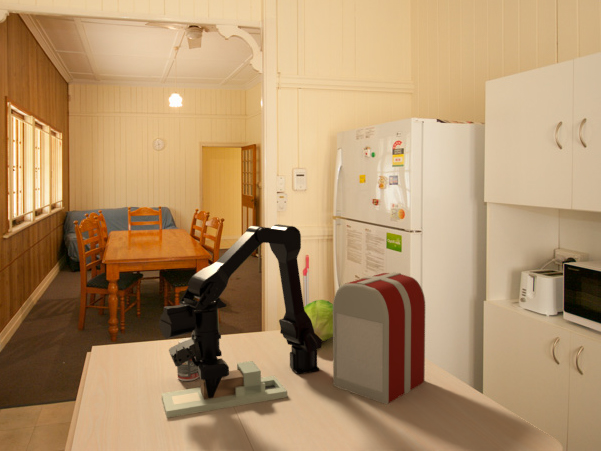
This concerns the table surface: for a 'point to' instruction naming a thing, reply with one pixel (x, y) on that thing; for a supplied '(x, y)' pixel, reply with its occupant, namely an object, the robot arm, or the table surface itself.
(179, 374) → the pill bottle
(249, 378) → the tunnel deck
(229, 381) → the brown rectangular block
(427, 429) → the table surface
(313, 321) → the lettuce
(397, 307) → the red striped block
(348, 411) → the table surface
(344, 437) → the table surface
